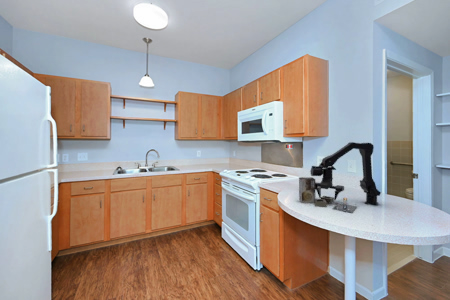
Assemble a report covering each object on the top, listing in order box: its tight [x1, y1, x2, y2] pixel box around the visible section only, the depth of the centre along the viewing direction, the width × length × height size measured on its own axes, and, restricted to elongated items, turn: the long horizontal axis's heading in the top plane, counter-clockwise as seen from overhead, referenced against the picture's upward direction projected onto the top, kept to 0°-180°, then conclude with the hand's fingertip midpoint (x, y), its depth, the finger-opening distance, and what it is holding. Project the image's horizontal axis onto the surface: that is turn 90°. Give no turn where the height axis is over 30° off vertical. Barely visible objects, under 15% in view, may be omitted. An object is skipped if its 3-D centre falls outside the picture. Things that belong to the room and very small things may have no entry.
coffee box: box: [298, 176, 316, 204], centre depth 130 cm, size 9×6×16 cm
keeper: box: [332, 197, 358, 214], centre depth 116 cm, size 14×10×6 cm
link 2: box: [320, 195, 335, 205], centre depth 129 cm, size 6×6×3 cm
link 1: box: [313, 198, 328, 208], centre depth 122 cm, size 6×6×3 cm
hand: (327, 199), depth 129 cm, fingers open, 9 cm apart
